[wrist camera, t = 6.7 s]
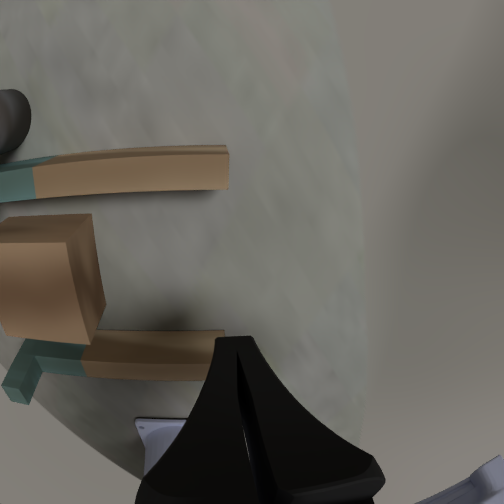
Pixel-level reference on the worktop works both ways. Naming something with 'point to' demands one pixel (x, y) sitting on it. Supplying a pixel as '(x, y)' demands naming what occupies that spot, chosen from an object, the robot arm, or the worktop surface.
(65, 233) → the brown wooden block
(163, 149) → the bay
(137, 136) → the worktop surface
